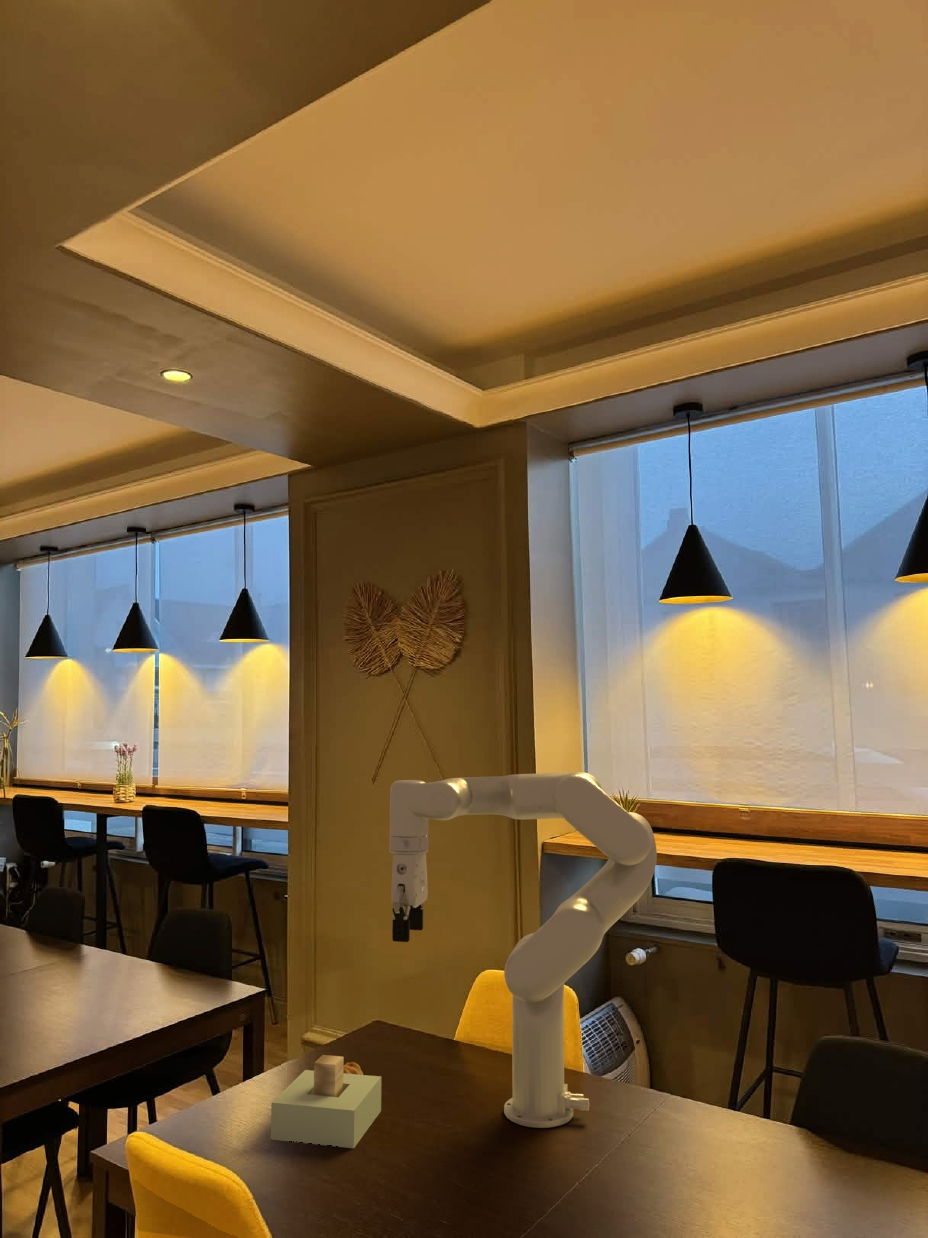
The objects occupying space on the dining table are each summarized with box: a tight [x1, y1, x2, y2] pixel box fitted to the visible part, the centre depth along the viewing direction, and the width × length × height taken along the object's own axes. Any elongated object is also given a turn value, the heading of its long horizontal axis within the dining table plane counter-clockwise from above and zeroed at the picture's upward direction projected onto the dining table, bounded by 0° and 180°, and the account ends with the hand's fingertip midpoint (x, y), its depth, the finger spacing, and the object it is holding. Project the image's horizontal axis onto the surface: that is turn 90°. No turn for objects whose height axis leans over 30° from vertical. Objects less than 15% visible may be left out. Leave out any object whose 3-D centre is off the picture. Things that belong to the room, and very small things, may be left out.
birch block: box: [313, 1054, 345, 1097], centre depth 160 cm, size 4×4×10 cm
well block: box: [270, 1069, 382, 1149], centre depth 159 cm, size 15×15×6 cm
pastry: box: [343, 1061, 364, 1075], centre depth 176 cm, size 9×7×4 cm
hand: (408, 935), depth 172 cm, fingers open, 9 cm apart
